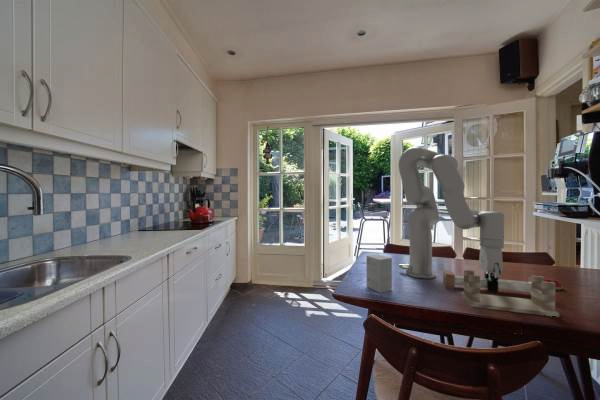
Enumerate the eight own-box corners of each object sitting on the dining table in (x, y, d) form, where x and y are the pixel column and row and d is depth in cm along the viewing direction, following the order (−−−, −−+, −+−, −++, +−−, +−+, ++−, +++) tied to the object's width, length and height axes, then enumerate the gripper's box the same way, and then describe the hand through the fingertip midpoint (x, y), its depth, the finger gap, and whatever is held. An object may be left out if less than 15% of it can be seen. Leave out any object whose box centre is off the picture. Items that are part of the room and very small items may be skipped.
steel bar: (446, 288, 100) (446, 274, 100) (443, 283, 106) (443, 269, 106) (547, 299, 90) (547, 282, 89) (537, 293, 95) (538, 277, 95)
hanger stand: (469, 306, 85) (470, 277, 84) (461, 294, 94) (461, 268, 94) (559, 317, 77) (559, 285, 77) (540, 303, 86) (541, 275, 86)
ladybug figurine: (528, 282, 108) (529, 274, 107) (561, 287, 101) (562, 279, 101) (529, 286, 102) (529, 278, 102) (564, 292, 96) (564, 283, 96)
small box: (392, 290, 99) (392, 257, 99) (380, 293, 96) (380, 259, 96) (377, 283, 106) (377, 253, 106) (365, 286, 103) (365, 255, 103)
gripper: (473, 238, 106) (472, 281, 107) (487, 246, 91) (487, 296, 91) (494, 239, 104) (493, 283, 104) (513, 247, 88) (512, 299, 89)
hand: (490, 289), depth 98 cm, fingers closed on steel bar, 3 cm apart
